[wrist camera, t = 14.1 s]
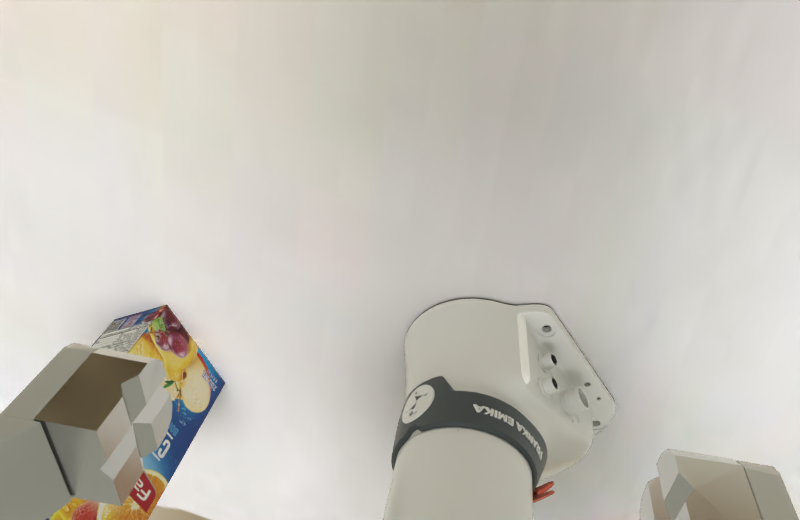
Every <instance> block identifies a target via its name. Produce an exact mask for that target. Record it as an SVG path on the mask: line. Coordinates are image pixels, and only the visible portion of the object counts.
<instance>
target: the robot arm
mask: <svg viewBox="0 0 800 520" xmlns="http://www.w3.org/2000/svg"><path fill="white" fill-rule="evenodd" d="M545 325H548V326H550V327H543V326H545ZM404 353H405V361H406V402H405V404H404V407H403V410H402V413H401V416H400V419H399V423H398V427H397V432H396V437H395V442H394V447H393V453H392V468H393V471H394V472H393V476H392V481H391V486H390V490H389V495H388V499H387V504H386V509H385V514H384V518H383V520H534V519H533V503H534V502H536V501H539V500H541V499H543V498H546V497H548V496H550V495H551V494H553V493H554V491H553V490H552V491H548V492H546V491H547V490H549V489H550V488H551V487H552V486H553V485H554V482H553V481H552V482H548V483H546V484H544V485H541V486H539V487H537V488H535V487H536V486H537V484H538V482H539V481H540V480H543V479H545V478H548V477H551V476H553V475H555V474H557V473H560V472H562V471H564V470H565V469H567V468H569V467H571V466H572V465H574V464H575V463H577V462H578V461H579V460H580V459H582V458H583V457H584V455H585V454H586V453H587V452H588V450H589V449H590V446H591V444H592V440H593V436H594V435H596V434H597V433H598V432H600V431H601V430H602V429H603V428H604V427H606V425H607V424H608V423H609V422H610V421H611V420H612V418H613V416H614V415H615V413H616V403H615V401H614V400H613V398H612V397H611V395H610V393H609V392H608V391H607V389H606V388H605V386H604V385H603V383H602V382H601V380H600V379H599V377H598V376H597V374H596V373H595V371H594V370H593V368H592V367H591V366H590V364H589V363H588V361H587V360H586V358H585V357H584V355H583V354H582V352H581V351H580V349H579V348H578V346H577V345H576V343H575V342H574V340H573V339H572V338H571V336H570V335H569V333H568V332H567V330H566V329H565V327H564V326H563V324H562V323H561V321H560V320H559V318H558V317H557V315H556V314H555V312H554V311H553V310H552V309H551V308H550V307H548V306H546V305H540V304H531V305H518V306H514V305H507V304H503V303H499V302H495V301H490V300H483V299H459V300H453V301H449V302H445V303H442V304H439V305H437V306H434V307H432V308H431V309H429V310H427V311H426V312H424V313H423V314H421V315H420V316H419V317H418V318H417V319H416V320H415V321H414V322H413V324H412V325H411V327H410V328H409V330H408V332H407V335H406V338H405V343H404ZM165 377H166V373H165V369H164V366H163V362H162V361H160V360H157V359H154V358H149V357H144V356H139V355H134V354H129V353H125V352H120V351H115V350H110V349H105V348H98V347H93V346H88V345H83V344H78V343H73V344H70V345H68V346H66V347H64V348H63V349H62V350H61V351H60V352H59V353H58V354H57V355H56V356H55V357H54V358H53V359H52V360H51V361H50V362H49V364H48V365H47V366H46V367H45V368H44V369H43V370H42V371H41V372H40V373H39V374H38V375H37V376H36V377H35V378H34V379H33V380H32V381H31V382H30V384H29V385H28V386H27V387H26V388H25V389H24V390H23V391H22V392H21V393H20V394H19V395H18V396H17V397H16V398H15V399H14V400H13V401H12V402H11V404H10V405H9V406H8V407H7V408H6V409H5V410H4V411H3V412H2V413H1V414H0V520H46V519H47V518H48V517H50V516H51V515H53V514H54V513H55V512H57V511H58V510H60V509H61V508H62V507H64V506H65V505H67V504H68V503H69V502H71V501H72V498H78V499H84V500H89V501H95V502H101V503H106V504H112V505H118V506H122V505H123V504H124V502H125V500H126V499H127V497H128V496H129V494H130V492H131V491H132V489H133V488H134V486H135V484H136V483H137V481H138V480H139V478H140V477H141V475H142V473H143V472H144V469H143V462H142V458H143V457H145V456H147V455H148V454H150V453H152V452H154V451H155V450H157V449H158V448H159V446H160V444H161V443H162V441H163V439H164V438H165V436H166V434H167V431H168V428H169V425H170V422H171V419H172V400H171V395H170V393H169V392H168V391H167V390H166V389H165V388H164V387H163V386H162V385H161V382H162V381H163V380H164V378H165ZM657 468H658V473H659V477H657V478H655V479H653V480H651V481H649V482H648V483H647V485H646V488H645V490H644V493H643V495H642V500H641V507H640V520H799V519H798V516H797V514H796V511H795V509H794V507H793V504H792V502H791V499H790V497H789V494H788V492H787V490H786V487H785V485H784V482H783V480H782V478H781V475H780V473H779V472H778V471H777V470H776V469H775V468H774V467H772V466H766V465H760V464H754V463H748V462H743V461H735V460H733V459H727V458H721V457H715V456H709V455H703V454H697V453H691V452H685V451H679V450H673V449H667V450H665V451H664V452H663V453H662V454H661V456H660V458H659V460H658V462H657ZM544 492H545V493H544ZM71 497H72V498H71Z"/></svg>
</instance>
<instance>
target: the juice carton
mask: <svg viewBox="0 0 800 520" xmlns="http://www.w3.org/2000/svg"><path fill="white" fill-rule="evenodd" d="M92 346H93V347H98V348H105V349H110V350H115V351H120V352H125V353H129V354H134V355H139V356H144V357H149V358H154V359H157V360H160V361H162V362H163V366H164V369H165V373H166V377H165V378H164V380H163V381H162V382H161V385H162V386H163V387H164V388H165V389H166V390H167V391H168V392H169V393H170V395H171V400H172V419H171V422H170V425H169V428H168V431H167V434H166V436H165V438H164V439H163V441H162V443H161V444H160V446H159V448H158V449H157V450H155V451H154V452H152V453H150V454H148V455H147V456H145V457H143V458H142V462H143V469H144V472H143V473H142V475H141V477H140V478H139V480H138V481H137V483H136V484H135V486H134V488H133V489H132V491H131V492H130V494H129V496H128V497H127V499H126V500H125V502H124V504H123V505H122V506H118V505H112V504H106V503H101V502H95V501H89V500H84V499H78V498H72V497H71V498H72V501H71V502H69V503H68V504H67V505H65V506H64V507H62V508H61V509H60V510H58V511H57V512H55V513H54V514H53V515H51V516H50V517H48V518H47V519H46V520H148V518H149V516H150V515H151V513H152V511H153V509H154V507H155V506H156V504H157V502H158V500H159V499H160V497H161V495H162V493H163V492H164V490H165V488H166V486H167V485H168V483H169V481H170V479H171V478H172V476H173V474H174V472H175V470H176V469H177V467H178V465H179V463H180V462H181V460H182V458H183V456H184V455H185V453H186V451H187V449H188V448H189V446H190V444H191V442H192V441H193V439H194V437H195V435H196V433H197V432H198V430H199V428H200V426H201V425H202V423H203V421H204V419H205V418H206V416H207V414H208V412H209V411H210V409H211V407H212V405H213V404H214V402H215V400H216V398H217V396H218V395H219V393H220V391H221V389H222V388H223V386H224V384H225V382H224V381H223V379H222V378H221V377H220V375H219V374H218V373H217V371H216V370H215V369H214V367H213V366H212V365H211V363H210V362H209V361H208V359H207V358H206V357H205V355H204V354H203V353H202V351H201V350H200V349H199V347H198V346H197V345H196V343H195V342H194V341H193V339H192V338H191V337H190V335H189V334H188V333H187V331H186V330H185V329H184V327H183V326H182V325H181V323H180V322H179V321H178V319H177V318H176V317H175V315H174V314H173V312H172V311H171V310H170V308H169V307H168V306H167V305H165V306H161V307H158V308H154V309H151V310H147V311H144V312H140V313H136V314H133V315H129V316H126V317H122V318H119V319H115V320H114V321H113V322H112V323H111V325H110V326H109V327H108V328H107V329H106V330H105V331H104V333H103V334H102V335H101V336H100V337H99V338H98V339H97V340H96V342H95V343H94V344H93V345H92Z"/></svg>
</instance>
